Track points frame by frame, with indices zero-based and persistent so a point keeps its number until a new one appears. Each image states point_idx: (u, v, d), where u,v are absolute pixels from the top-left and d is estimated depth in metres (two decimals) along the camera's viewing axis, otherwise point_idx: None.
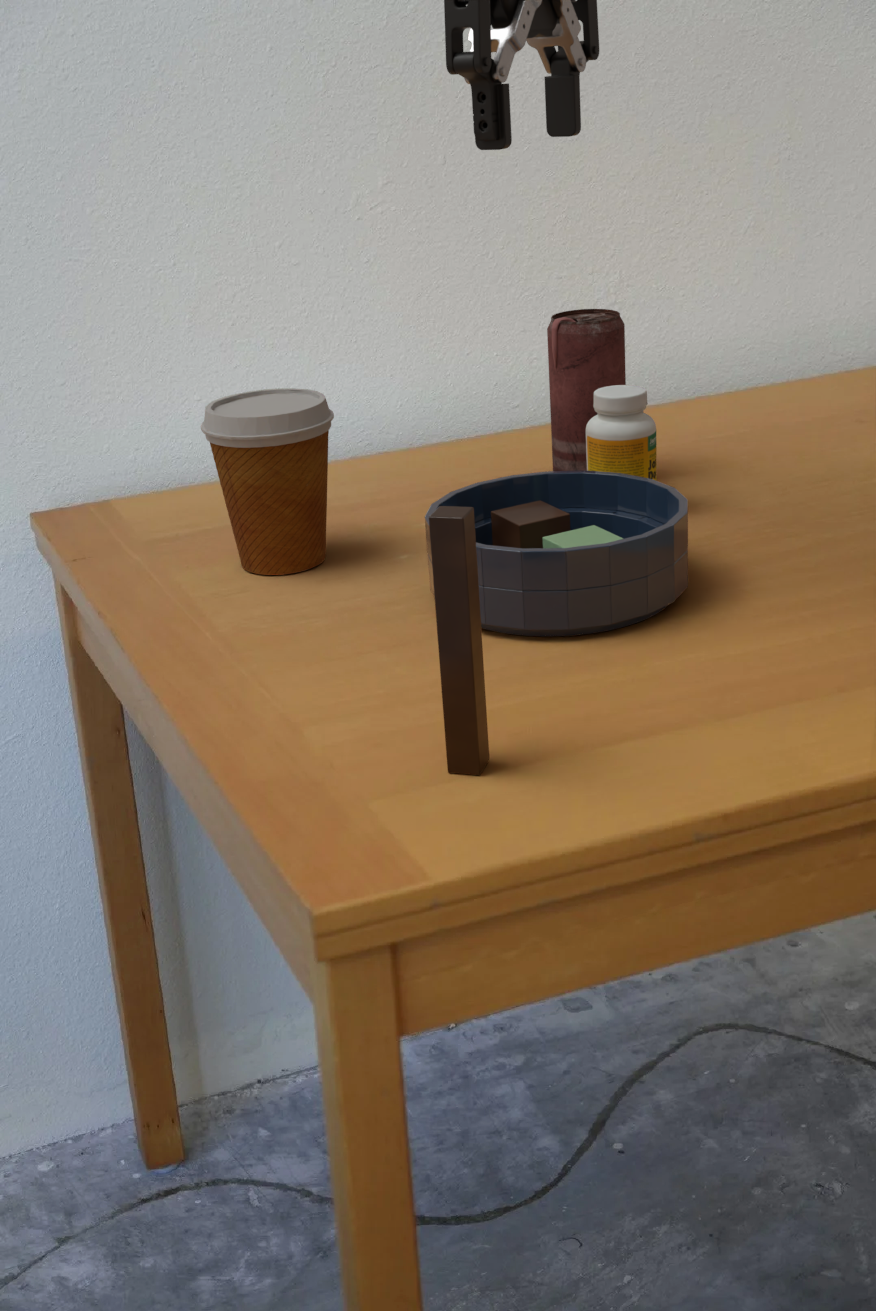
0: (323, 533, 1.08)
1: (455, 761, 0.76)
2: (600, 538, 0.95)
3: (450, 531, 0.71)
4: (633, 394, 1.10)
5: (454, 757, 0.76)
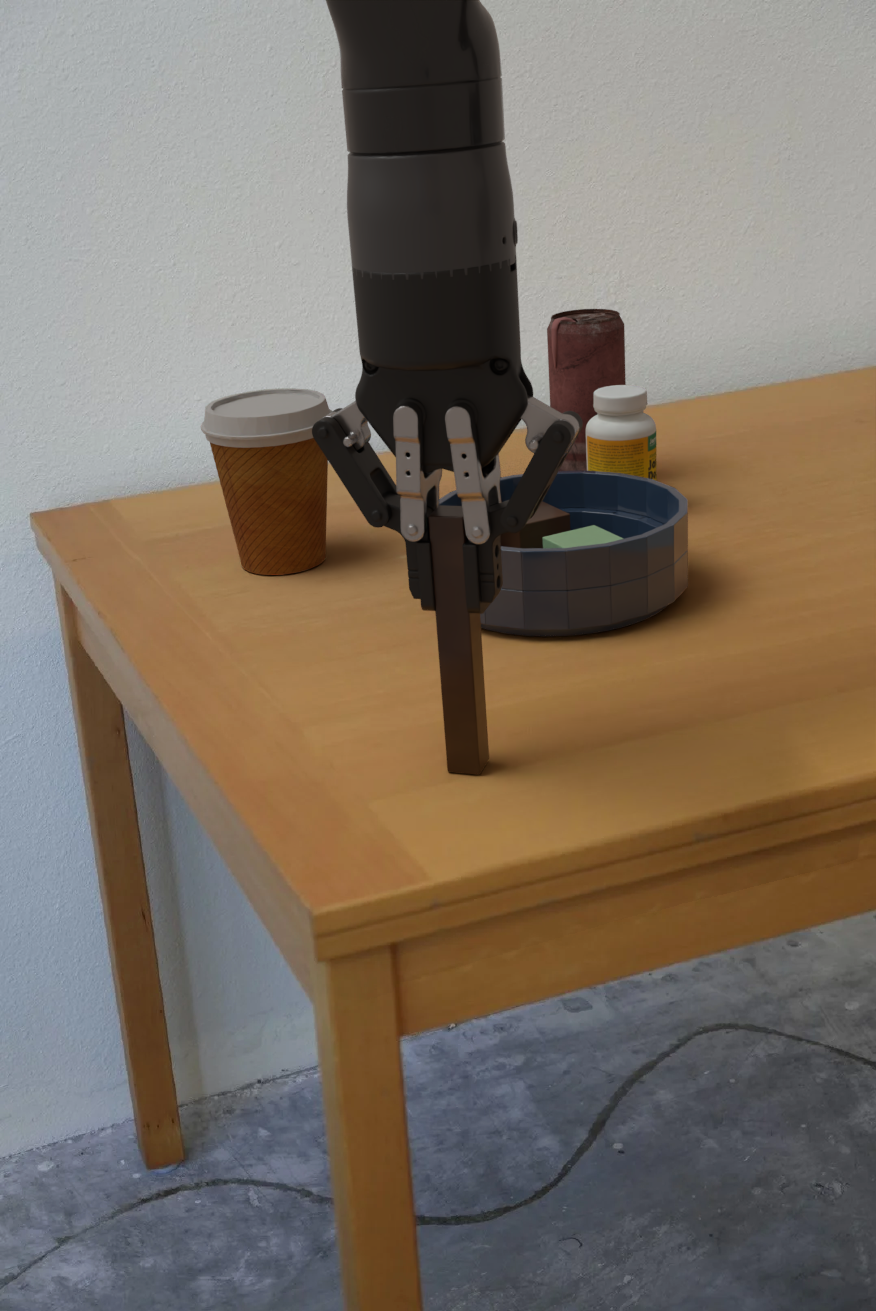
0: (323, 533, 1.08)
1: (455, 760, 0.76)
2: (600, 538, 0.95)
3: (450, 530, 0.71)
4: (633, 394, 1.10)
5: (453, 757, 0.76)
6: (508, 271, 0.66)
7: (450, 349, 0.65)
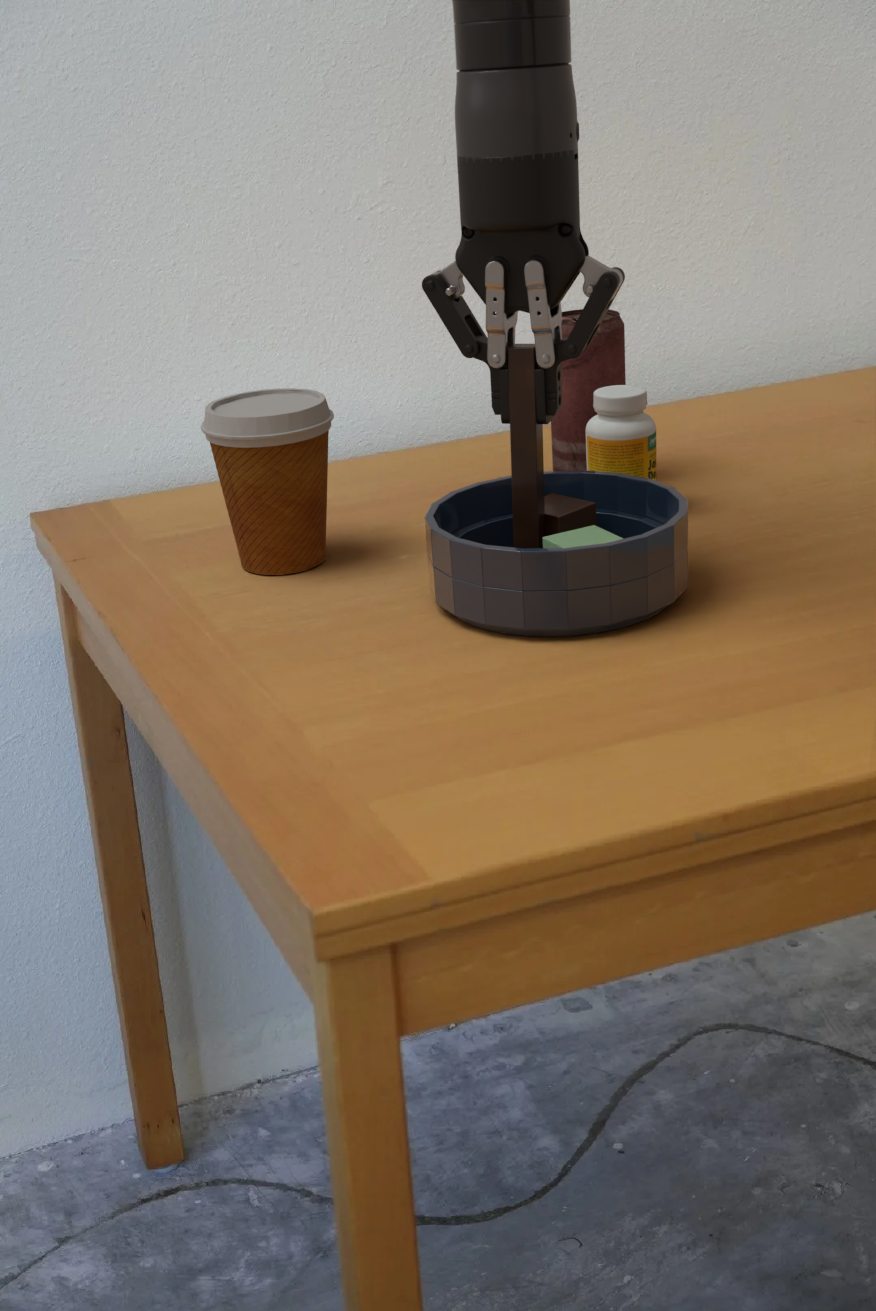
0: (323, 533, 1.08)
1: (520, 546, 1.00)
2: (600, 538, 0.95)
3: (524, 358, 0.95)
4: (633, 394, 1.10)
5: (519, 542, 1.00)
6: (573, 158, 0.90)
7: (531, 214, 0.89)
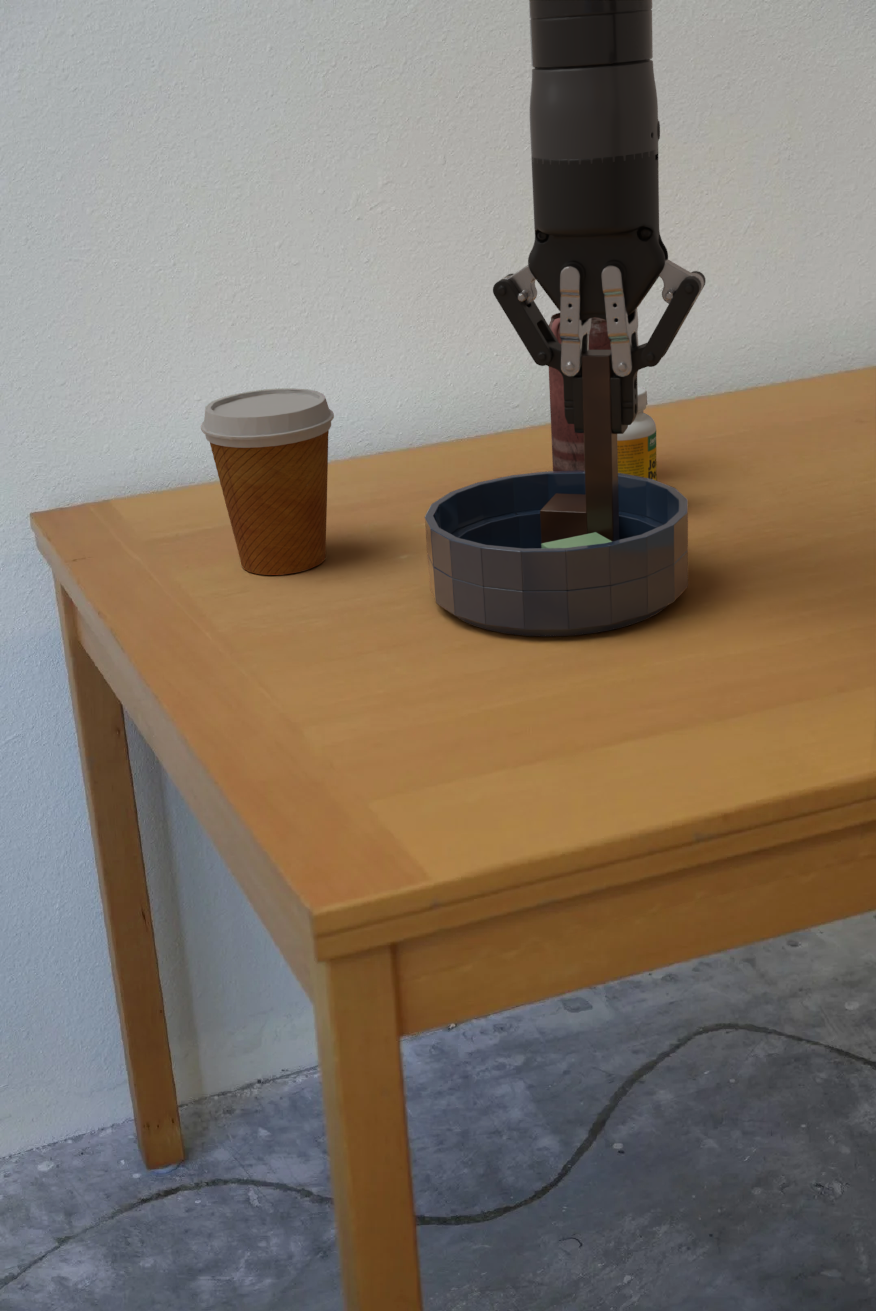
0: (323, 533, 1.08)
1: None
2: None
3: (599, 366, 0.92)
4: None
5: None
6: (654, 159, 0.86)
7: (610, 218, 0.86)
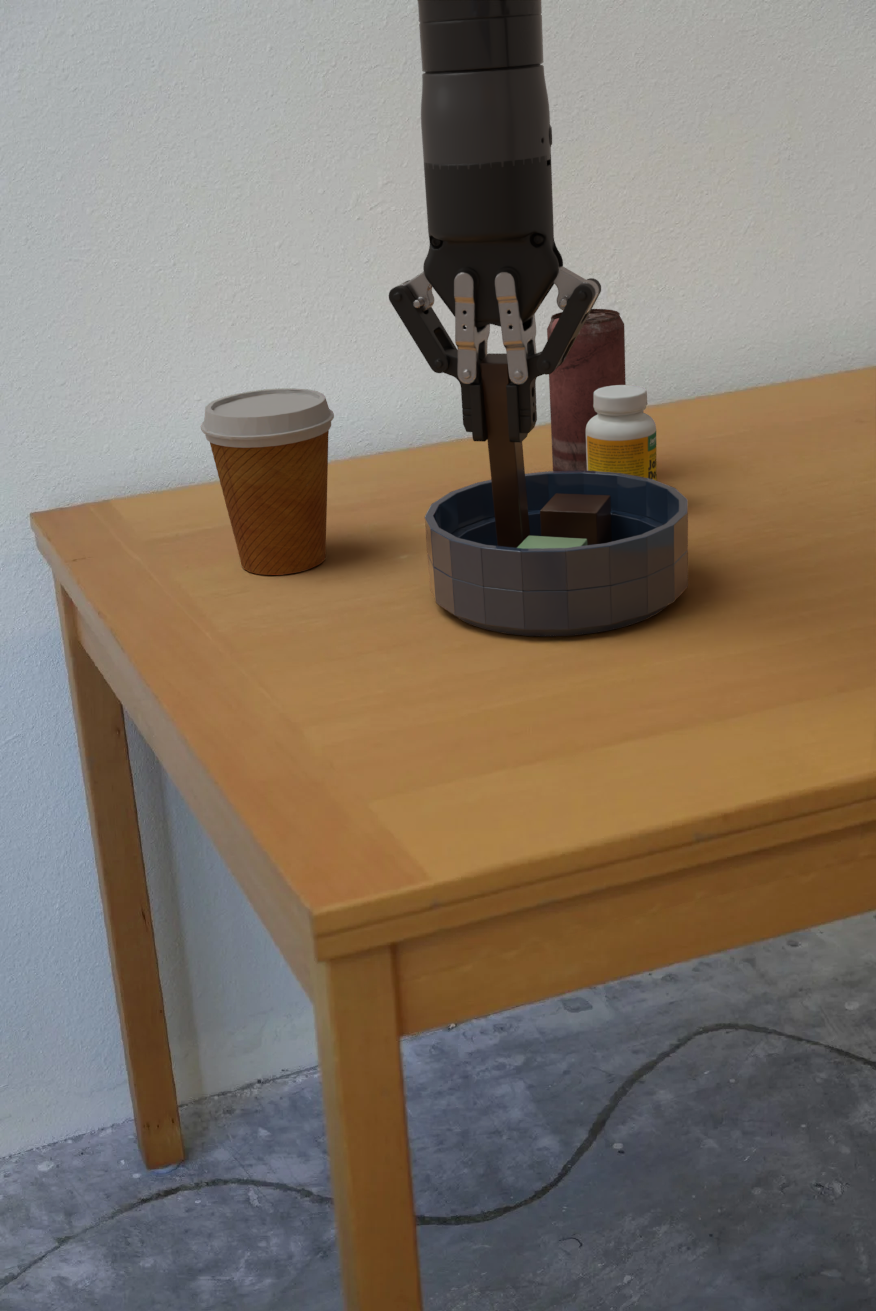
0: (323, 533, 1.08)
1: None
2: (562, 543, 0.95)
3: (498, 374, 0.91)
4: (633, 394, 1.10)
5: None
6: (545, 165, 0.85)
7: (500, 224, 0.85)
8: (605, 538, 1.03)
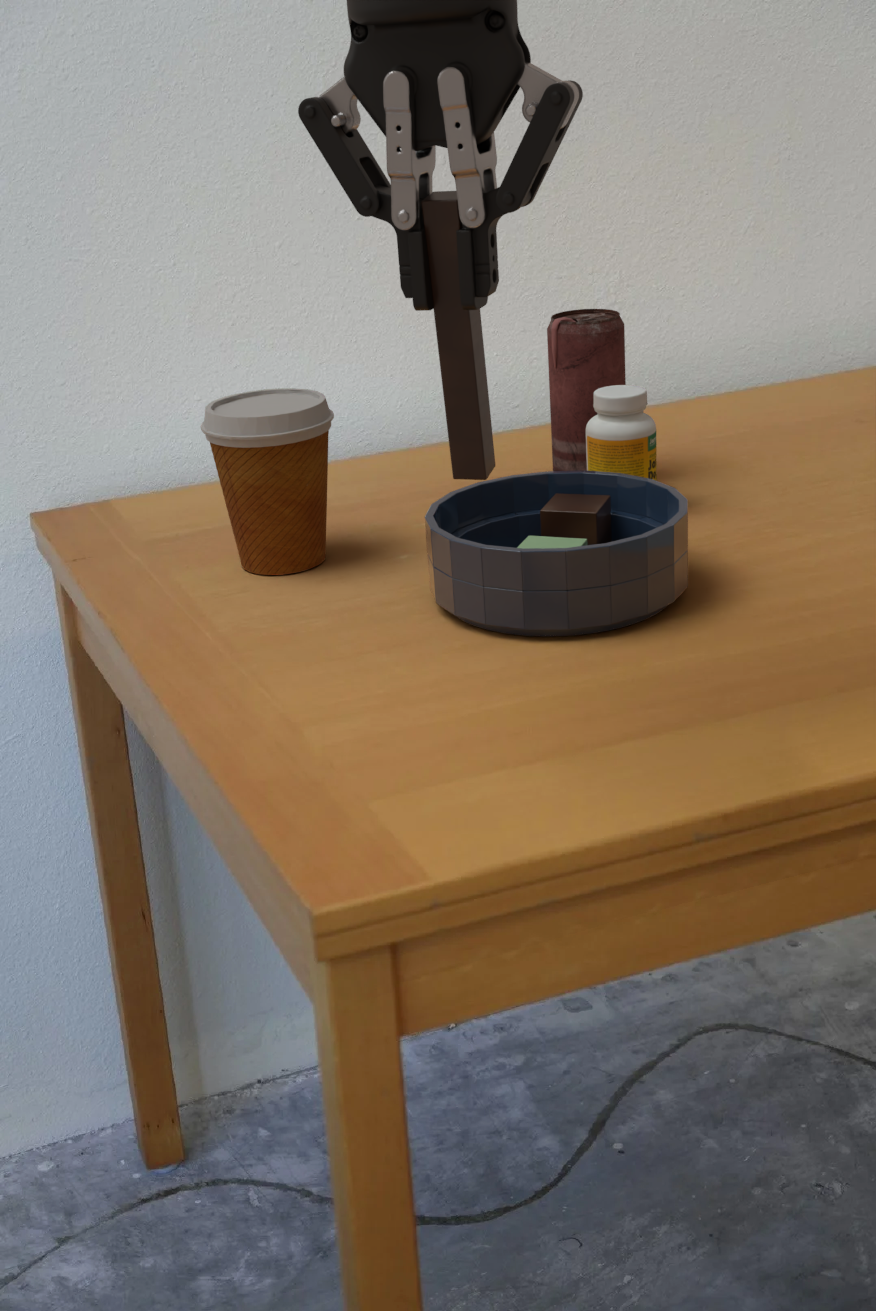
0: (323, 533, 1.08)
1: (460, 466, 0.75)
2: (562, 543, 0.95)
3: (445, 215, 0.68)
4: (633, 394, 1.10)
5: (459, 462, 0.74)
6: None
7: None
8: (605, 538, 1.03)
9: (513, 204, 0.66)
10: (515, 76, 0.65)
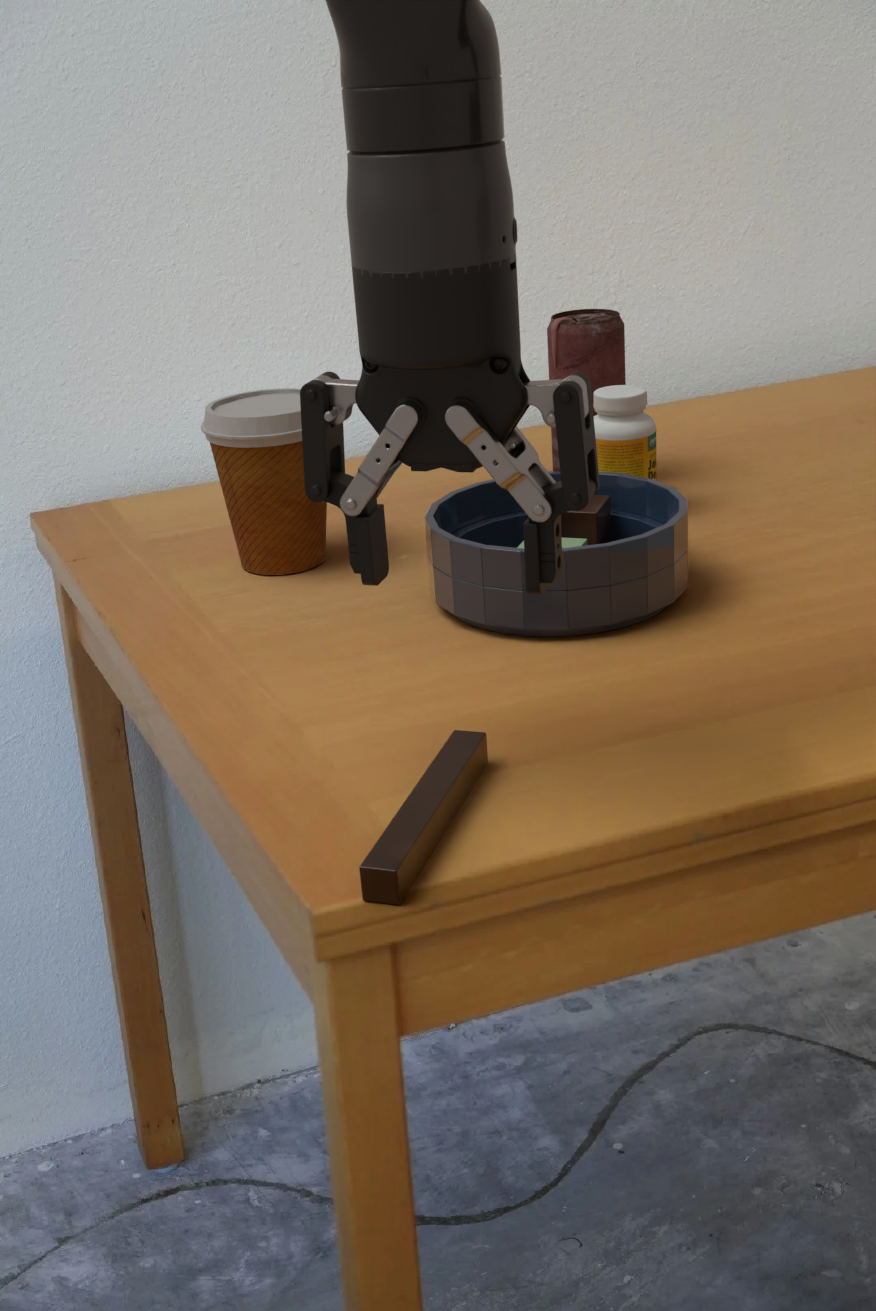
0: (323, 533, 1.08)
1: None
2: (562, 543, 0.95)
3: None
4: (633, 394, 1.10)
5: None
6: (508, 270, 0.66)
7: (450, 348, 0.65)
8: (605, 538, 1.03)
9: (582, 500, 0.68)
10: (519, 412, 0.68)
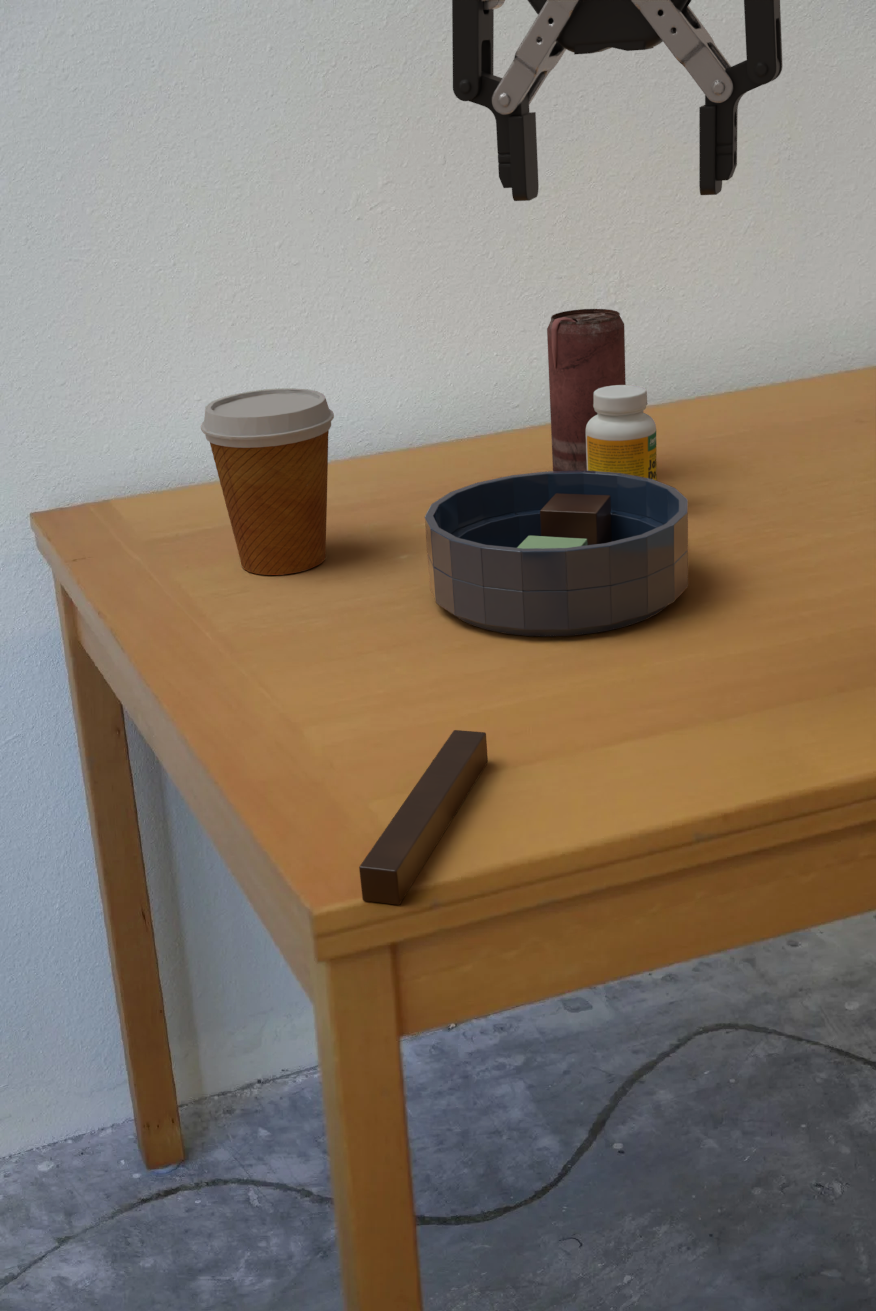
0: (323, 533, 1.08)
1: None
2: (562, 543, 0.95)
3: None
4: (633, 394, 1.10)
5: None
6: None
7: None
8: (605, 538, 1.03)
9: (769, 71, 0.62)
10: None
